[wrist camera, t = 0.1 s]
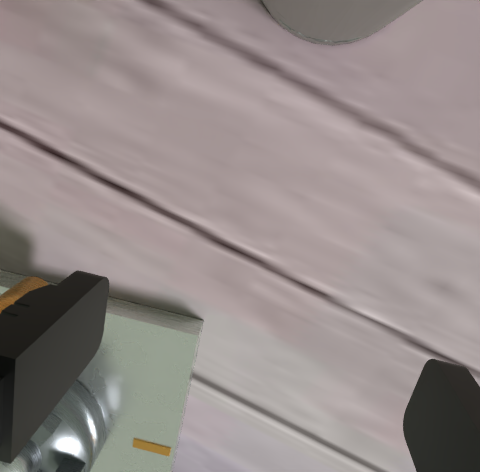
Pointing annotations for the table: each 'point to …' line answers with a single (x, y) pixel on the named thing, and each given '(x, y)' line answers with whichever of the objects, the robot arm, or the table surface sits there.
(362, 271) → the table surface
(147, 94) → the table surface
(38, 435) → the chuck with crank handle
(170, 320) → the base plate
